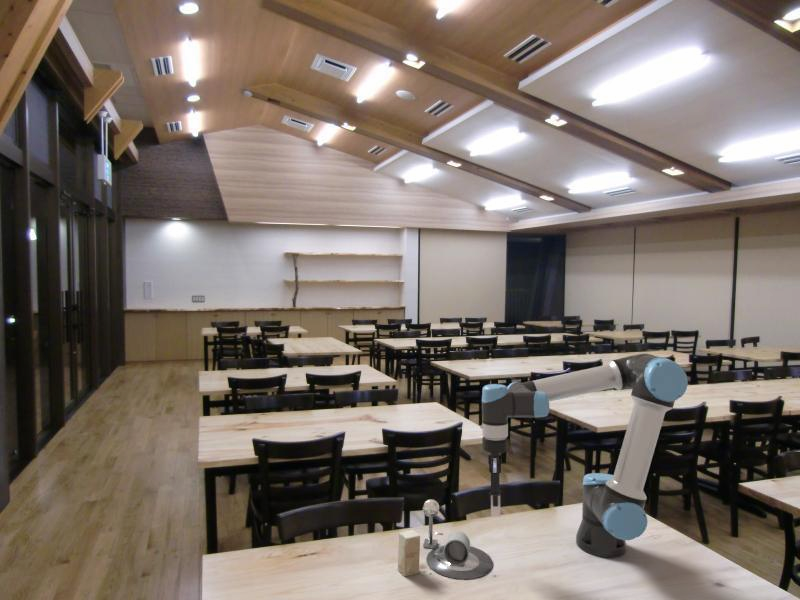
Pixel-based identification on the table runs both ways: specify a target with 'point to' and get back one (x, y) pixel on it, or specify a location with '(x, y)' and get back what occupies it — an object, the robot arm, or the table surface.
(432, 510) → the dial stand
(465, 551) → the ceramic mug
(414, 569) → the box
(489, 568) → the platter
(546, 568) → the table surface
